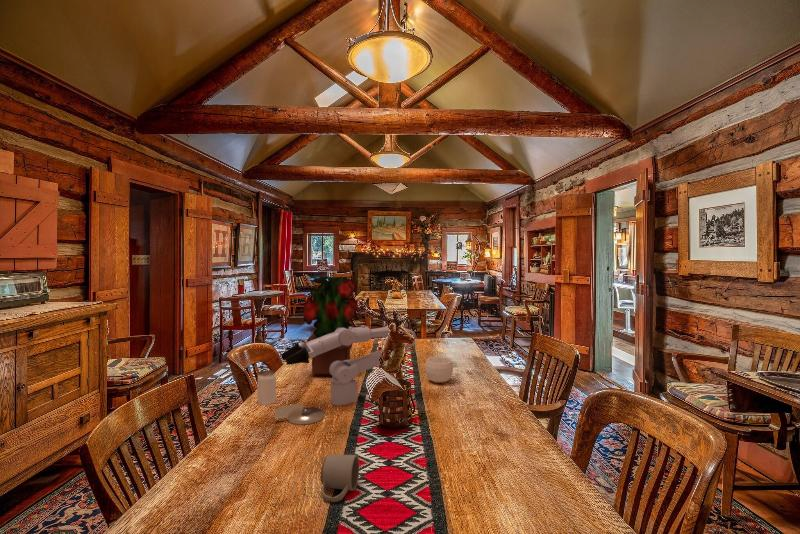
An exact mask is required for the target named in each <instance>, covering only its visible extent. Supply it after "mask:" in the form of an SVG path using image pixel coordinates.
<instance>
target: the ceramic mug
mask: <svg viewBox="0 0 800 534" xmlns="http://www.w3.org/2000/svg"><path fill="white" fill-rule="evenodd" d="M319 475H320V483H321V485H322V486H321V487H322V488H321V492H322V496H323V498H324V500H326V501H327V502H329V501H331V502H330V503H337V502H339V501H341V500H342V499H343V498H344V497H345V496H346V495H347V493H348V492H349V491H350V492H352V491H353V492H354V491H355V490H356V488H357V486H358V483H359V482H358V481H359V477H360V461H359V456H358V455H357V454H330V455H327V456H325V457H324V458H323V460H322V463H321V468H320V474H319ZM326 488H329V489H335V490H341V492H340V493H339V494H337V495H336V496H333V497H331V496H329V495H327V494H326V493H325V492H326Z"/></svg>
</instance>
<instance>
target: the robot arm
mask: <svg viewBox="0 0 800 534" xmlns="http://www.w3.org/2000/svg"><path fill="white" fill-rule="evenodd" d="M388 327H389V326H384V327H378V328H377V327H376V328H369V326H366V325H363V324H361V325H360V326H358V327H357V326H356V327H353V326H352V327H349V328H348V329H346V328H340V327H339V328H337V329H336V330H335V332H333V333H330V334H327V335H324V336H322V337H319V338H317V339H314V340H311V341H309V342H307V338H305V339H304V340H303V342H304V343H302V344H299V342H295V343H294V345H292V347H290V348H289V349H288V350H286V351H284V352H282V353H281V358H282V361H285V362H286V365H287V366H291V365H296V364H297V365H298V364H309V363H310V360H309V359H311V360H312V358H313V357H315V356H317V355H319V354H322V353H324V352H327V351H329V350H332V349H334V348H336V347H339V346H341V344H342V345H347V346H349V345H351V344H352V343H353V344H357V343H366V342H369V341H370V340H371V339H373V338H374V339H375V338H386V337H387V336H388V333H389V328H388ZM403 328H404V329H405V330H406V331H407V332H409V333H411V334H412V335H413V337H414V341H413V343H412V344H409V345H406V346H405V352H406V351H407V350H408V349H410V348H412V347H414V344H415V342H416V337H417V336H416V333H415V331H413V330H412V329H409V328H405V327H403ZM387 338H388V337H387ZM340 343H341V344H340ZM381 350H382V349H380V350H377V351H374V352H370V353H368V354H366V355H363V356H360V357H357V358H354V359H350V360H344V361H334V362H333V363H332V364H331V365H330V368H329V372H330V374H331V375H332V377H331V379H330V404H331V405H334V406H345V405H349V404H355V403H358V385H357V383H358V382H357V381H356V380H355V379H354V378H357V377H358V375H359V373H362V372H364V371H366V370H369V369H373V368H375V367H378V366H380V361H379V359H380V357H381Z"/></svg>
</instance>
